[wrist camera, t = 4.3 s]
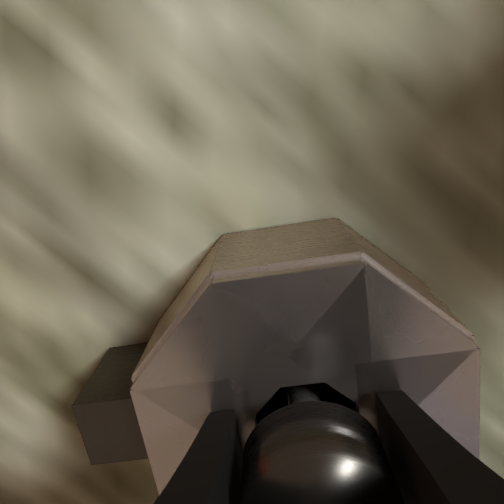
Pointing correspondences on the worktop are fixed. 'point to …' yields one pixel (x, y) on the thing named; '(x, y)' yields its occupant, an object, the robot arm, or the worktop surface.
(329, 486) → the plunger
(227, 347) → the grey octagonal hollow piece
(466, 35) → the worktop surface
